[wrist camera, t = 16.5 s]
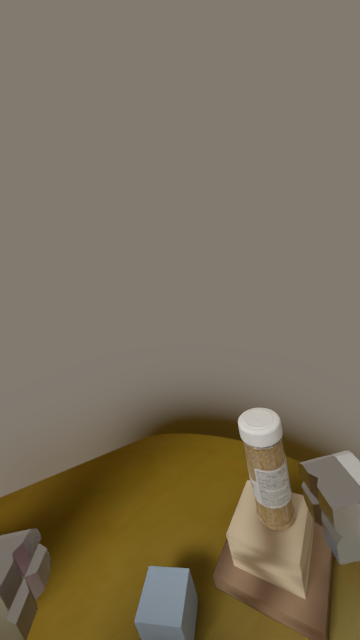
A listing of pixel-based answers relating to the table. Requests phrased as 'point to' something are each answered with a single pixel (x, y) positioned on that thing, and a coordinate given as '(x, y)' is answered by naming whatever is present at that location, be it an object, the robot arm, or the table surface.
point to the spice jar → (267, 467)
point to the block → (167, 605)
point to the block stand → (278, 567)
